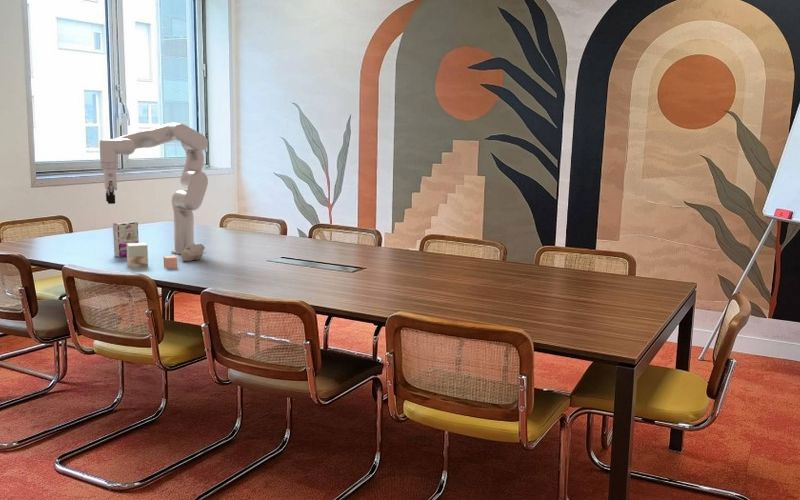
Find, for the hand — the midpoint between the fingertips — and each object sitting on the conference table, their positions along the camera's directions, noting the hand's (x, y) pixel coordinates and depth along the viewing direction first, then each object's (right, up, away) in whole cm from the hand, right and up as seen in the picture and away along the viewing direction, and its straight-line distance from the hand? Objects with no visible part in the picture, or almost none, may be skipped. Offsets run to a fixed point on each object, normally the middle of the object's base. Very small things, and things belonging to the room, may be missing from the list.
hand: (110, 202), depth 367 cm
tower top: (+15, -25, -7) cm, 29 cm away
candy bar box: (+1, -25, +18) cm, 31 cm away
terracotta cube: (+31, -30, -9) cm, 44 cm away
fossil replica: (+36, -27, +10) cm, 46 cm away
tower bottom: (+15, -30, -6) cm, 33 cm away
